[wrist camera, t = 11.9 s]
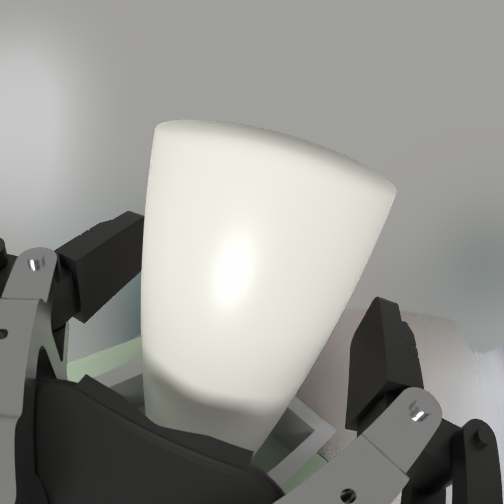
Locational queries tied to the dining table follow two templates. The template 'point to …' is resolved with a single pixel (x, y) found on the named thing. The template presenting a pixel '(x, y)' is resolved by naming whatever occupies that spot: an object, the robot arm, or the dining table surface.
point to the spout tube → (246, 270)
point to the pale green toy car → (271, 451)
